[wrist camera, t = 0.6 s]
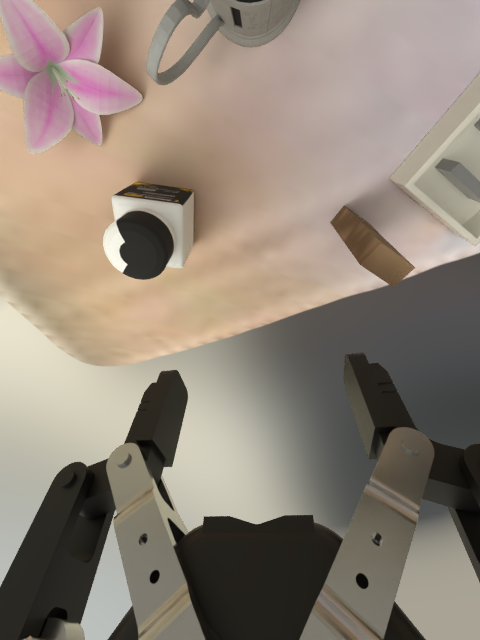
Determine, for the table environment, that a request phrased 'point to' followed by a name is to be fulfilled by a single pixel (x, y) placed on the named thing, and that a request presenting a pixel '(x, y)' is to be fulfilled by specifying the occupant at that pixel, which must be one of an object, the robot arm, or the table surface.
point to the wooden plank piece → (371, 247)
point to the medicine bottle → (150, 229)
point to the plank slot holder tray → (449, 167)
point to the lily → (59, 75)
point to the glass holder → (229, 17)
